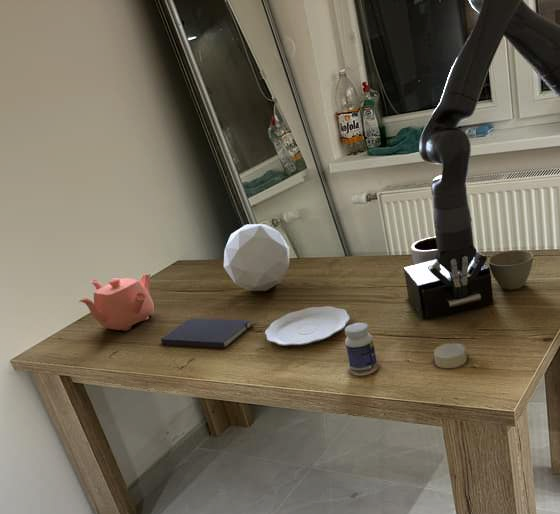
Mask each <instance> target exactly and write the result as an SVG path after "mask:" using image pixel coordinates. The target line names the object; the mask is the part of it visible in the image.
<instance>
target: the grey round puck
mask: <svg viewBox="0 0 560 514" xmlns="http://www.w3.org/2000/svg"><path fill="white" fill-rule="evenodd" d="M433 356H434V363H435V365H436V366H437V367H438V368H442V369H454V368H459V367H461V366H463V365H464V364H466V362H467V350H466V347H465V345H463V344H461V343H445V344H441V345H439V346H437V347H436V348H435V349H434V351H433Z"/></svg>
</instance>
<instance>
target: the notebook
mask: <svg viewBox="0 0 560 514" xmlns="http://www.w3.org/2000/svg"><path fill="white" fill-rule="evenodd" d="M250 322H251V321H250V320H249V319H227V318H223V319H222V318H198V317H197V318H194V317H191V318H188V319H186V320H185V321H184V322H182V323H180V325H178V326H177V327H176V328H174V329H173V330H171V331H170V332H169V333H167V334H166V335H164V336H163V337H161V338H160V341H161V344H162V345H166V346H167V345H169V346H184V347H201V348H202V347H203V348H216V349H218V348H219V349H226V348H227V347H228V346H229V345H230V344H232V343H233V342H234V341H236V340H237V339H238V338H239V337H240V336H241V335H242V334H244V333H245V332H246V331H247V330H248V329H250V328H251V327H252V324H251V323H250Z"/></svg>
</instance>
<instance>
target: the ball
mask: <svg viewBox="0 0 560 514" xmlns="http://www.w3.org/2000/svg"><path fill="white" fill-rule="evenodd" d="M289 267H290V247H289V245H288V244H287V242H286V241H285V239H284V238H283V236H282V234H281V232H280V231H278V230H277V229H275V228H274V227H272V226H269V225H268V224H263V223H262V224H260V223H259V224H257V223H256V224H255V223H253V224H251V223H249V224H247V223H246V224H245V225H243V226H242V227H240V228H239V229H238V228H237V230H235V231H234V232H232V233H231V234H230V236H229V237H228V240H227V243H226V245H225V247H224V253H223V269H224V270H225V271H226V273H227V274H228V276H229V277H230V278H231V280H232V282H233V284H236V285H237V286H238V287H240V288H242V289H244V290H245V291H247V292H267V291H269V290H270V289H272V288H273V287H275V286H276V285H278V284H280V283H282V281H283V280H284V277H285V276H286V273H287V271H288V269H289Z"/></svg>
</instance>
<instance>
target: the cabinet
mask: <svg viewBox="0 0 560 514" xmlns="http://www.w3.org/2000/svg"><path fill="white" fill-rule="evenodd" d="M473 259H474V258H473ZM435 261H436V260H433V261H429V262H425V263H420V264H416V265H409V266H408V265H407V266H405V267H403V272H404V278H405V285H406V291H407V298H408V301H409V302H410V304H411V305H412V307H413V308H414V309H415V311H416V312H417V314H418V315H419V316H420V318H421V319H422V320H423V321H424V320H428V319H427V318H426V313H425V307H424V300H423V293H422V288H424V287H428V286H432V285H436V284H440V283H443V282H442V281H440V280H439V279H438V278H437V277H436V276H434V275H433V274H432V273H431V272H430V271H429V270H428V266H429V265H433V264H434V262H435ZM473 262H474V260H472V262H471V264H470V266H469V267H468V271H469V269H470V267H471V266H472V264H473ZM440 268H441V271H440V272H441V273H442V274H443V275H444V276H445V277H447V278H449V279H451V278H450V274H449V271H447V270H446V269H445V268H444V267H443V266H442V265H441V264H440ZM481 273H484V275H486V274H490V275H491V274H492V273H491V269H490V266H489V265H487V264H486V263H484V265H483V267H482V268H481V270H480V272H479V273H478V274H481ZM491 276H492V275H491Z"/></svg>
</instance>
